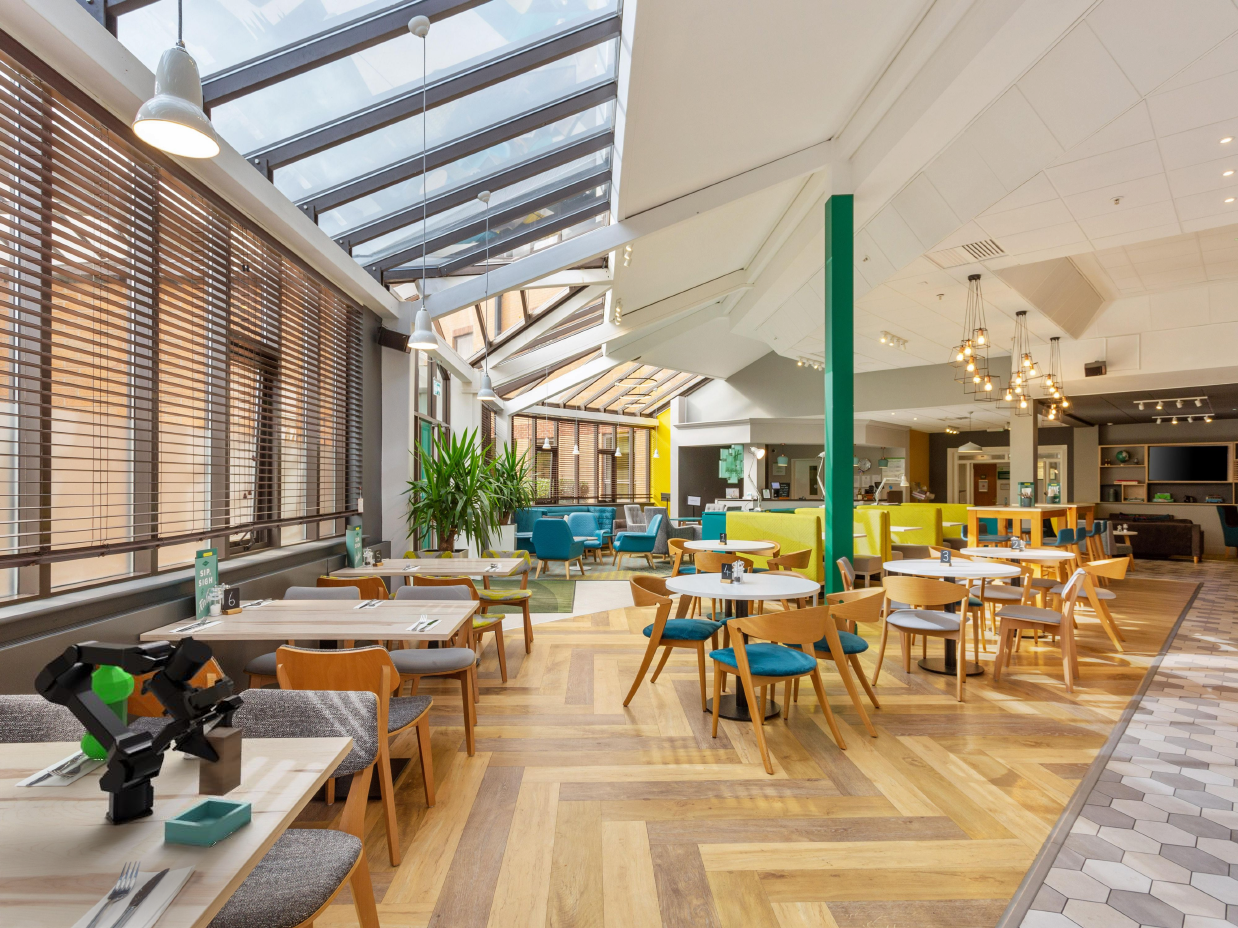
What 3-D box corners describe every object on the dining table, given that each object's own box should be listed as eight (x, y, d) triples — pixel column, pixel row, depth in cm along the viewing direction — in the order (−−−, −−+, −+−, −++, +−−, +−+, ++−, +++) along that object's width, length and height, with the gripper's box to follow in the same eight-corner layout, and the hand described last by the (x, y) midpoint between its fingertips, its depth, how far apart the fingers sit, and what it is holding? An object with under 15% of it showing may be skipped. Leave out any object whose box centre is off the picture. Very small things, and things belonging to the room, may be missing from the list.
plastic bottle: (123, 745, 172) (126, 646, 173) (137, 755, 165) (139, 652, 166) (74, 757, 164) (77, 653, 165) (86, 768, 158) (89, 660, 159)
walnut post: (198, 794, 129) (200, 735, 130) (217, 782, 134) (219, 726, 135) (222, 795, 129) (224, 737, 129) (240, 784, 133) (242, 728, 134)
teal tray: (164, 840, 125) (164, 821, 125) (207, 815, 135) (208, 797, 135) (210, 846, 123) (210, 827, 123) (251, 820, 133) (251, 802, 133)
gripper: (167, 680, 123) (220, 745, 122) (237, 655, 142) (284, 711, 140) (127, 722, 124) (179, 786, 122) (202, 691, 143) (248, 747, 141)
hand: (227, 755), depth 131 cm, fingers closed on walnut post, 5 cm apart
